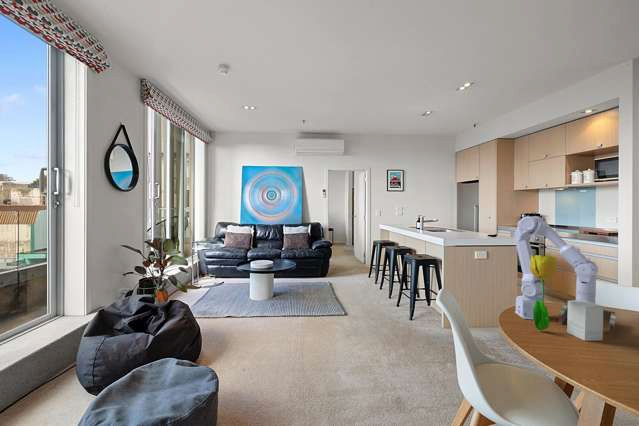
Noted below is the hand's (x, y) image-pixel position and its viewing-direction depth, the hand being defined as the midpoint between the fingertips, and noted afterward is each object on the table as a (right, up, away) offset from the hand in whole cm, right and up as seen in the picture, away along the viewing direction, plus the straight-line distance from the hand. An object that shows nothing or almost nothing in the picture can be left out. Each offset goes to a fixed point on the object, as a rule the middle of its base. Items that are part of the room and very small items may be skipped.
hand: (584, 326), depth 117 cm
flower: (-18, -2, -1) cm, 18 cm away
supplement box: (-5, -2, -6) cm, 8 cm away
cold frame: (+6, -1, +6) cm, 9 cm away
